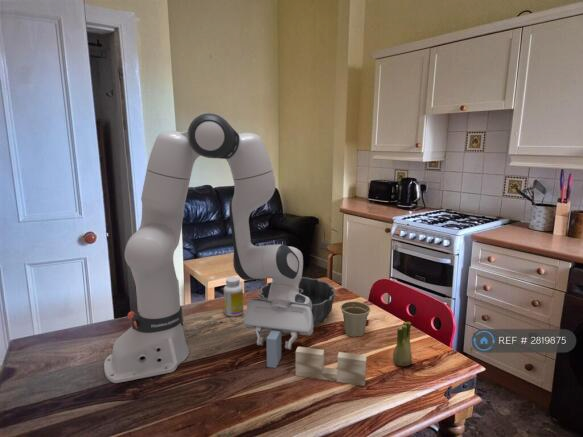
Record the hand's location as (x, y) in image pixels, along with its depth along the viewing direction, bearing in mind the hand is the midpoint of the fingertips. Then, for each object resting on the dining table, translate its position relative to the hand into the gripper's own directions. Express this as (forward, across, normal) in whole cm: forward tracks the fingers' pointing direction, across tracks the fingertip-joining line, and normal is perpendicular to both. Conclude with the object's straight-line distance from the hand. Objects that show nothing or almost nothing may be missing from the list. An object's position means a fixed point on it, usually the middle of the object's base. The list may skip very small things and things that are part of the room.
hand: (273, 346), depth 104 cm
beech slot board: (+6, +16, +1) cm, 17 cm away
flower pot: (-12, +20, +20) cm, 31 cm away
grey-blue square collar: (+3, 0, +4) cm, 5 cm away
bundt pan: (-17, 0, +24) cm, 29 cm away
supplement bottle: (-15, -23, +22) cm, 35 cm away
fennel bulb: (-2, +35, +10) cm, 36 cm away
